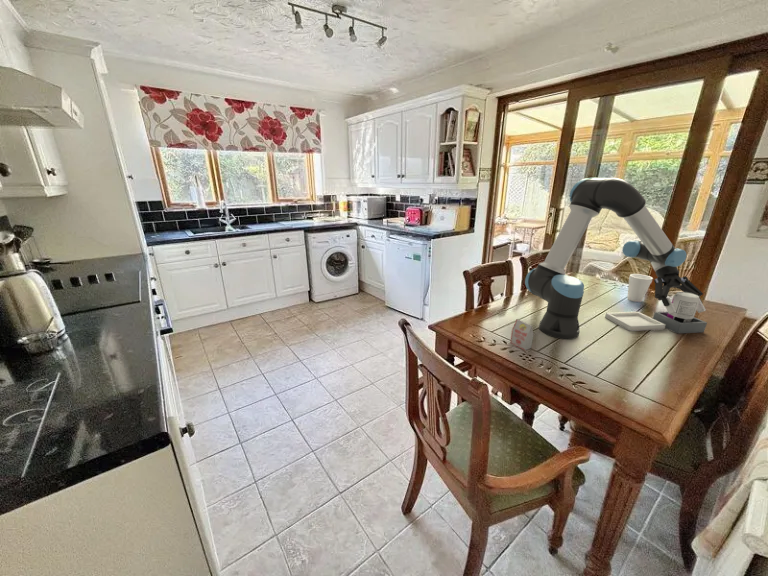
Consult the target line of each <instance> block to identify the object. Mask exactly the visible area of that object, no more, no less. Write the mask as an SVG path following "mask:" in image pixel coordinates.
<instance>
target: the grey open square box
mask: <svg viewBox="0 0 768 576" xmlns="http://www.w3.org/2000/svg"><path fill="white" fill-rule="evenodd" d="M667 315H668V311H655V312H654V314H653V315H652V316H653V317H652V318H653V319H655V320H657V321H659V322H661V323H663V324H665V328H666V329H667V330H669V331H671V332H673V333H676V334H694V333H698V334H699V333H705V329H706V327H707V325H708V322H707V321H704V320H701V319H700V318H697V317H695V316H694V319H693V321H692V322H685V323H680V322H678V321H676V320H674V319H671V318H669V317H667ZM665 328H664V329H665Z"/></svg>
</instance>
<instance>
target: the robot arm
mask: <svg viewBox="0 0 768 576" xmlns="http://www.w3.org/2000/svg"><path fill="white" fill-rule="evenodd" d="M568 196H569V201H570V204H569V206H568V207H569V210H570V212H569V214H568V216H567V217H566V220H565V221H564V223H563V225H562V227H561V229H560V231H559V233H558V234H557V237H556V238H555V241H554V242H553V244H552V245H551V248H550V250H549V252H547V253H548V254H547V256H546V257H545V259H544V261H543V262H540V263H538V264H537V266H536V268H533V269H531V270H530V271H528V273H527V274H526V276H525V279H524V280H525V281H524V284H525V287H526V289H527V290H528V292H529V293H531V294H532V295H534V296H537V297H538V298H541V299H542V300H543V301H546V302H547V307H546V312H545V313H544V315H543V316H542V318H541V320H540V321H539V325H538V329H539V330H540V331H541V332H542V333H543V334H545V335H547V336H550V337H553V338H556V339H561V340H573V339H576V338H578V337H579V336H580V331H581V330H580V323H579V319H578V318H579V312H580V309H581V305H582V302H583V301H582V300H583V296H584V292H585V291H584V290H585V284H584V282H583V281H582V280H581V279H579V278H577V277H575V276H573V275H571V276H570V275H569V274H568V275H567V274H566V272H565V268H566V266H567V265H568V263H569V261H570V259H571V257H572V255H573V254H574V252H575V250H576V248H577V246H578V244H579V242H580V241H581V239H582V237H583V235H584V234H585V232H586V230H587V229H588V226H589V225H590V223H591V221H592V219H593V218H595V217H597V216H599V215H600V213H601V211H602V209H604V210H605V209H606V210H609V211H611V212H614V213H615V214H616V215H617V217H619V218H620V219H621V218H622V219H623V220H625V222H626V223H627V225H628V226H629V227H630V228H631V230H632V231H633V232H634V234H635V236H637V238H638V239H639V240H628V241H626V242H625V243H624V244H623V247H622V249H621V250H622V254H623V255H624V256H625V257H628V258H636V259H640V260H644V261H648V262H650V264H651V265H650V266H651V267H652V269H653V271H654V272H655V275H656V277H657V278H655V279H653V281H654V284H655V285H654V298H655V299H657V301H661V302H662V304H663V306H664V307H665V308H666V310H667V311H666V312H668V313H669V314H672V313H675V312H676V310H675V308H674V306H673V304H672V300H671V298H670V297H668V295H669V292H670V289H672V288H673V289H678V290H680V291H681V292H688V293H693V294H696V295H698V296H699V299H700V302H699V305H698V308H697V310H696V312H697V314H701V313H704V312H706V308H705V306H704V304H703V300H702V299H701V296H703V295H704V293H703V292H702V291H701V290H700V289H699V288H698V287H697V286H696V285H694V283H692V281H690V280H689V278H688V277H687V276H683V277H680V276H679V274H680V270H679V269H678V267H680V266H681V265H683V263H684V262H685V261H686V259H687V251H686V250H684V249H681V248H678V247H675V246H674V245H673V243H672V242H671V240H670V239H669V238H668V235H666V233H665V232H664V230H663V229H662V228H661V226H660V224H659V223H658V222H657V221H656V219H655V218H654V216H653V215H652V213H651V212H650V211H649V209H648V208H647V206H646V204H647V201H646V199H645V198H644V196H643V195H642V194H641V193H640V192H639V191H638V189H637V188H636V187H634V186H633V185H632V184H631V183H629V182H628V181H626V180H624V179H622V178H618V177H588V178H583V179H582V178H581V180H579V181H577V182H576V183H574V185H573V186H572V187H571V189H570V192H569V195H568Z"/></svg>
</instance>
